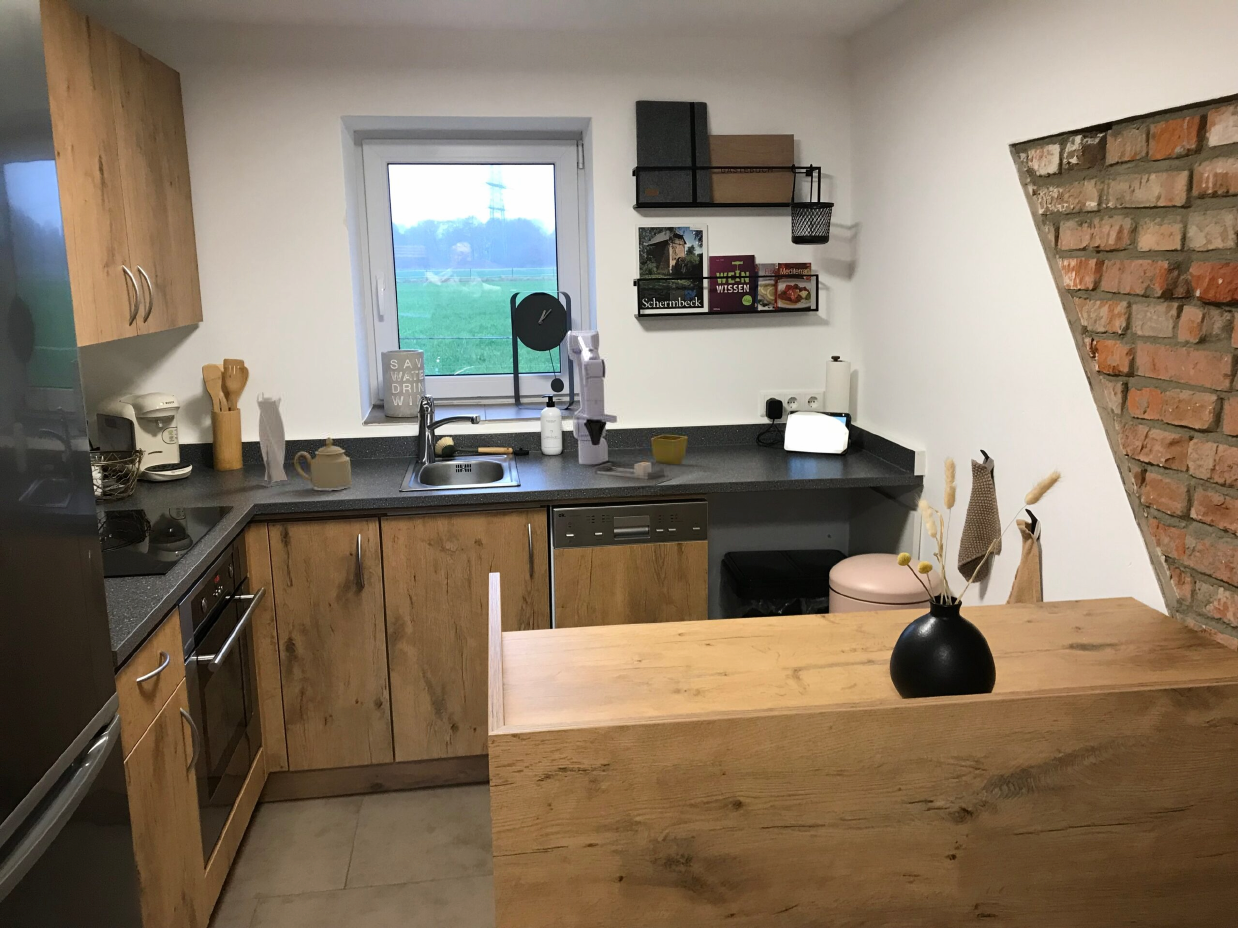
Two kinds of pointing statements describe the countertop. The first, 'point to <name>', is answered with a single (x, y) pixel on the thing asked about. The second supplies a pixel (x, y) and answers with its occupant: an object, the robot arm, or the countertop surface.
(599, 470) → the fader console
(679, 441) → the flower pot
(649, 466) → the fader knob
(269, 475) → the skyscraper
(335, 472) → the sugar bowl
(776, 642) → the countertop surface
